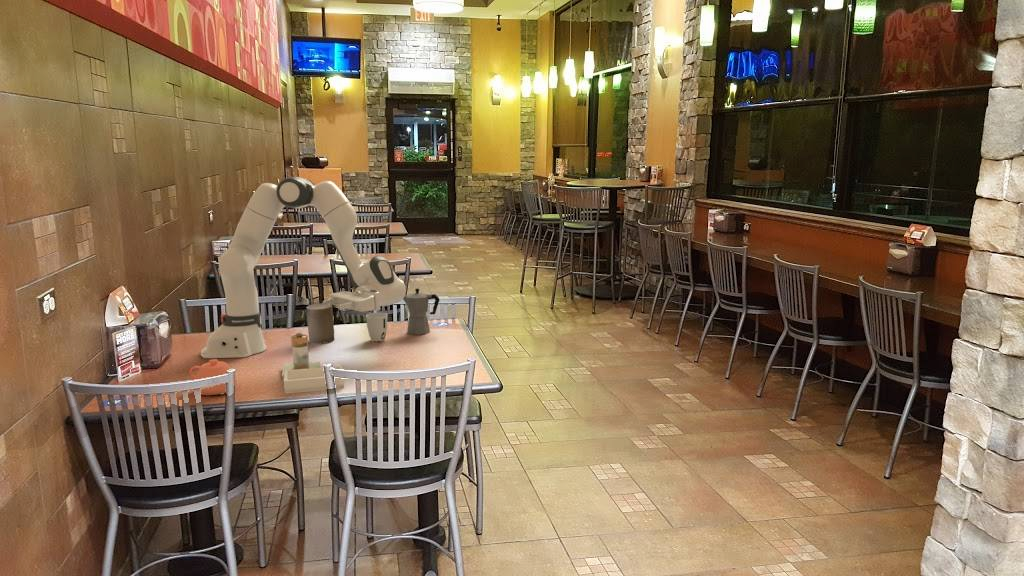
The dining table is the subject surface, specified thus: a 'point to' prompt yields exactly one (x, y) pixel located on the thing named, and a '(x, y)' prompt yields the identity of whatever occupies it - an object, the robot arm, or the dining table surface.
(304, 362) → the battery cell
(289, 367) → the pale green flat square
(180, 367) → the dining table surface
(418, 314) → the coffeepot
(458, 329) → the dining table surface
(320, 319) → the pillar candle
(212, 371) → the sugar bowl
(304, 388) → the trough
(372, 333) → the cup
